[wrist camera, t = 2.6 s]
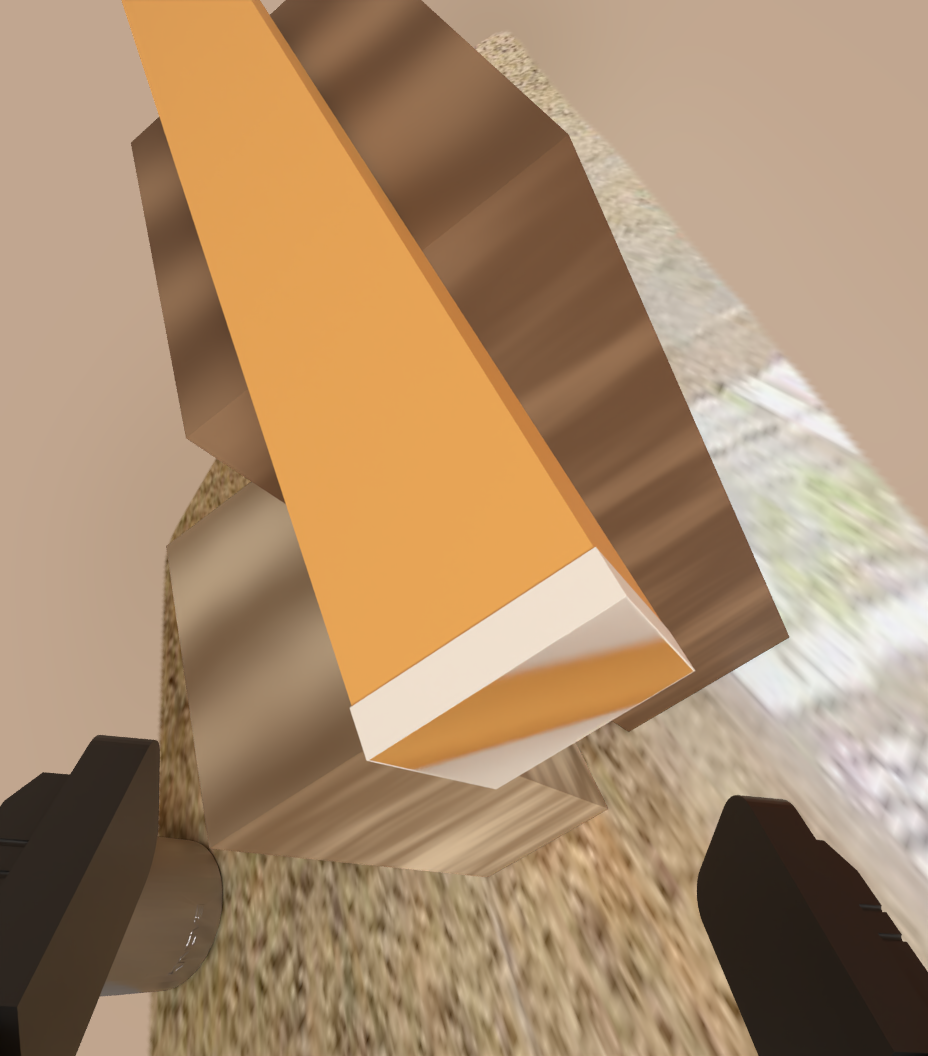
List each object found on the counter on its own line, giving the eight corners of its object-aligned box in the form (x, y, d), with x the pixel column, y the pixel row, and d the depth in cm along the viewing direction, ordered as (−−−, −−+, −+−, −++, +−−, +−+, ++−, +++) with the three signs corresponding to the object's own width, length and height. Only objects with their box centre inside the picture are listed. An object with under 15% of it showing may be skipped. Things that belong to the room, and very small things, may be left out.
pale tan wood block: (695, 670, 9) (626, 597, 7) (495, 789, 10) (366, 760, 7) (254, -9, 24) (182, -111, 21) (186, 55, 24) (108, -37, 22)
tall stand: (789, 637, 39) (557, 107, 14) (628, 731, 41) (164, 423, 16) (640, 441, 48) (341, -82, 23) (516, 525, 50) (116, 128, 25)
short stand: (608, 808, 40) (394, 730, 23) (488, 877, 41) (209, 848, 25) (508, 605, 48) (300, 444, 32) (411, 669, 50) (166, 546, 33)
